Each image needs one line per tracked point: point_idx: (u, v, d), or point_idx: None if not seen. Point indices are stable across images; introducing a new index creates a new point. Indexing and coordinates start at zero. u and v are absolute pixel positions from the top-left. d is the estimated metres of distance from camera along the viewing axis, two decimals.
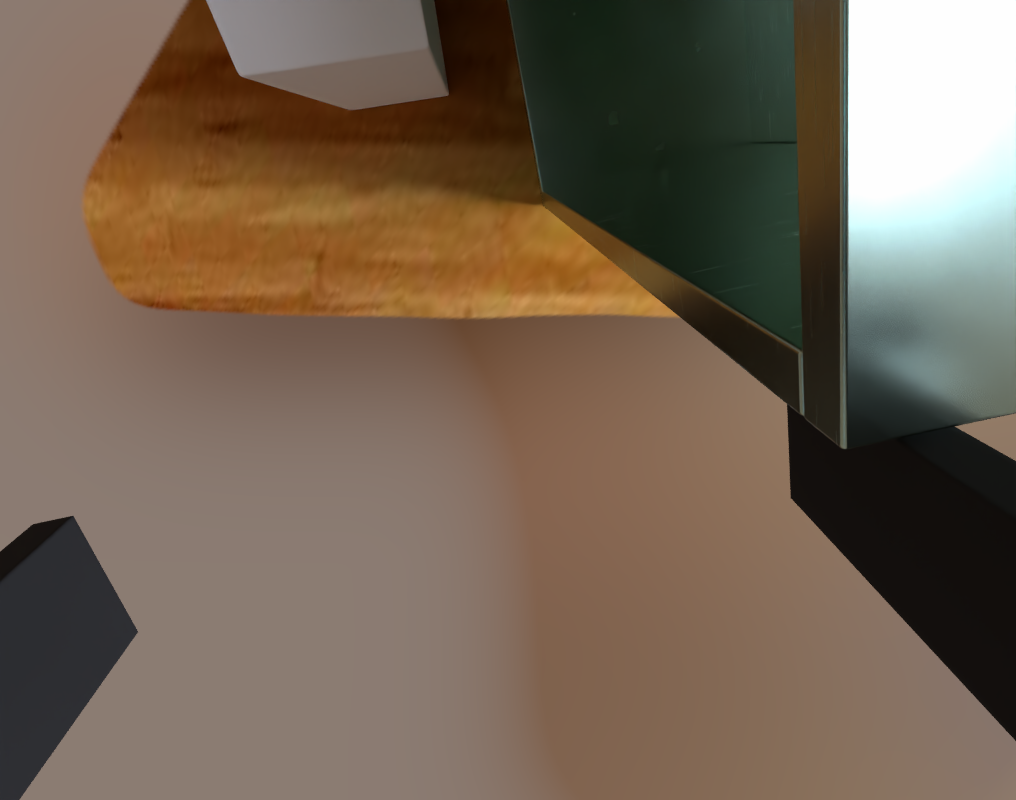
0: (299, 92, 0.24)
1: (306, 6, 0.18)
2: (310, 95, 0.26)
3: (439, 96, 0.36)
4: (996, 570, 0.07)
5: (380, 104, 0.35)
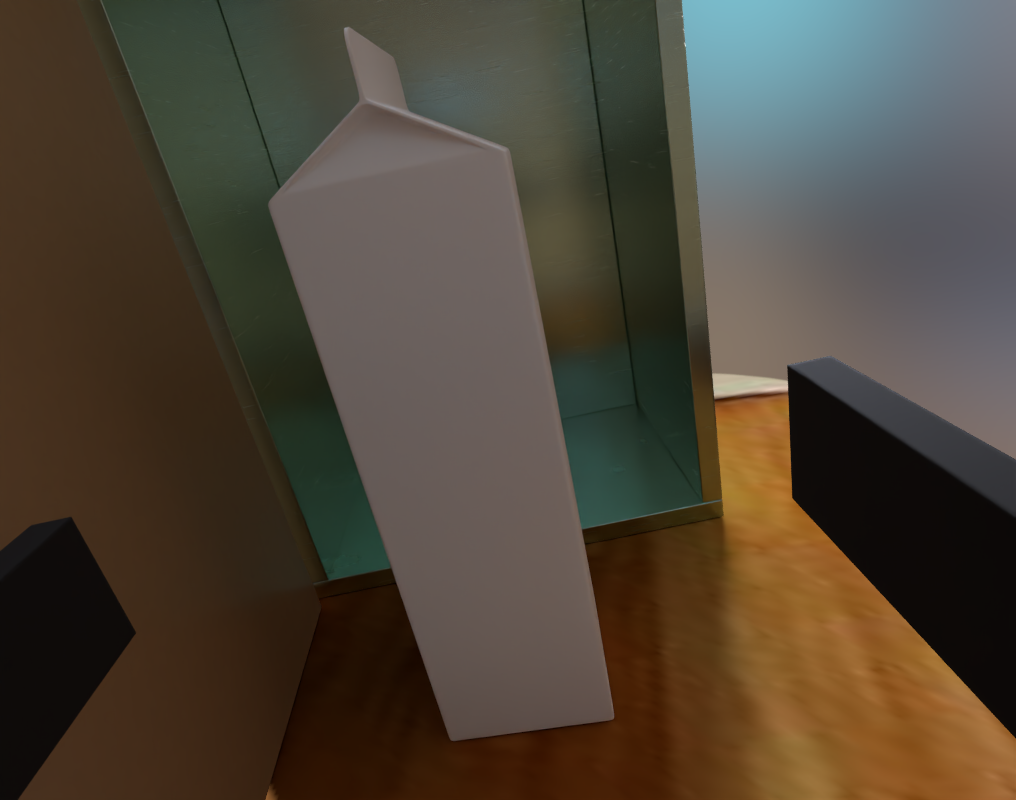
0: (551, 383, 0.17)
1: (451, 128, 0.17)
2: (561, 435, 0.17)
3: None
4: (999, 571, 0.06)
5: None
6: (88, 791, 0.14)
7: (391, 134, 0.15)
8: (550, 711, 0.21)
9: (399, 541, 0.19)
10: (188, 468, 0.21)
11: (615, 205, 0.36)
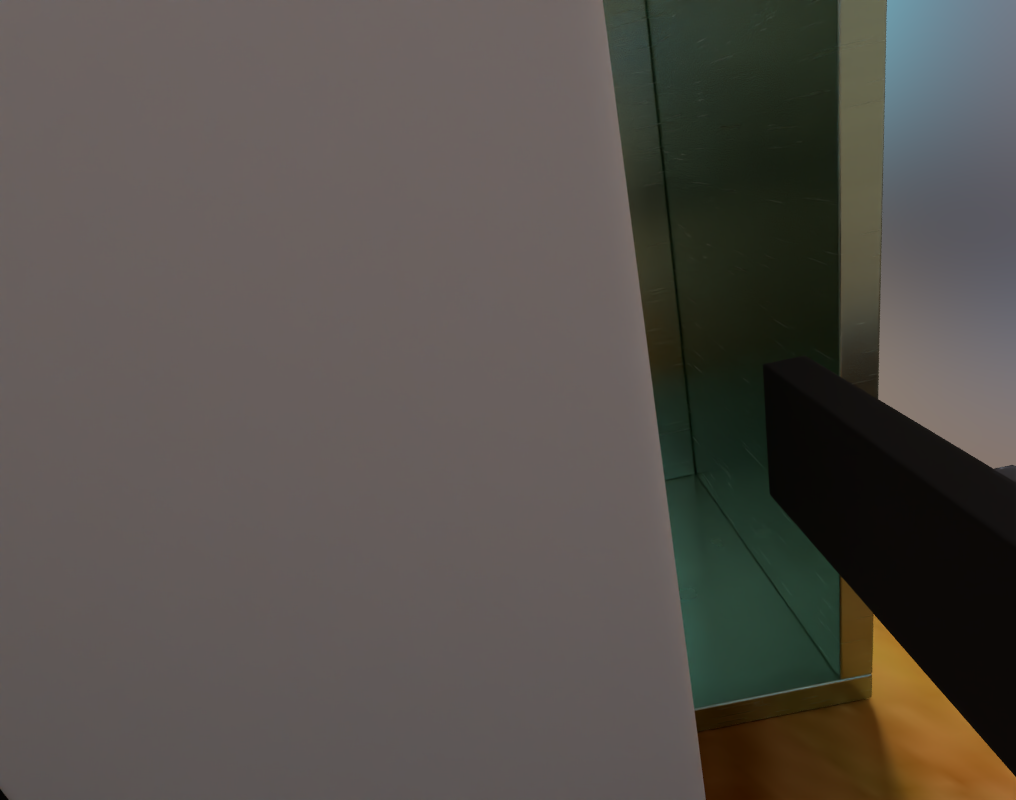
0: None
1: None
2: None
3: None
4: (952, 562, 0.07)
5: None
6: None
7: None
8: None
9: None
10: None
11: (678, 200, 0.24)
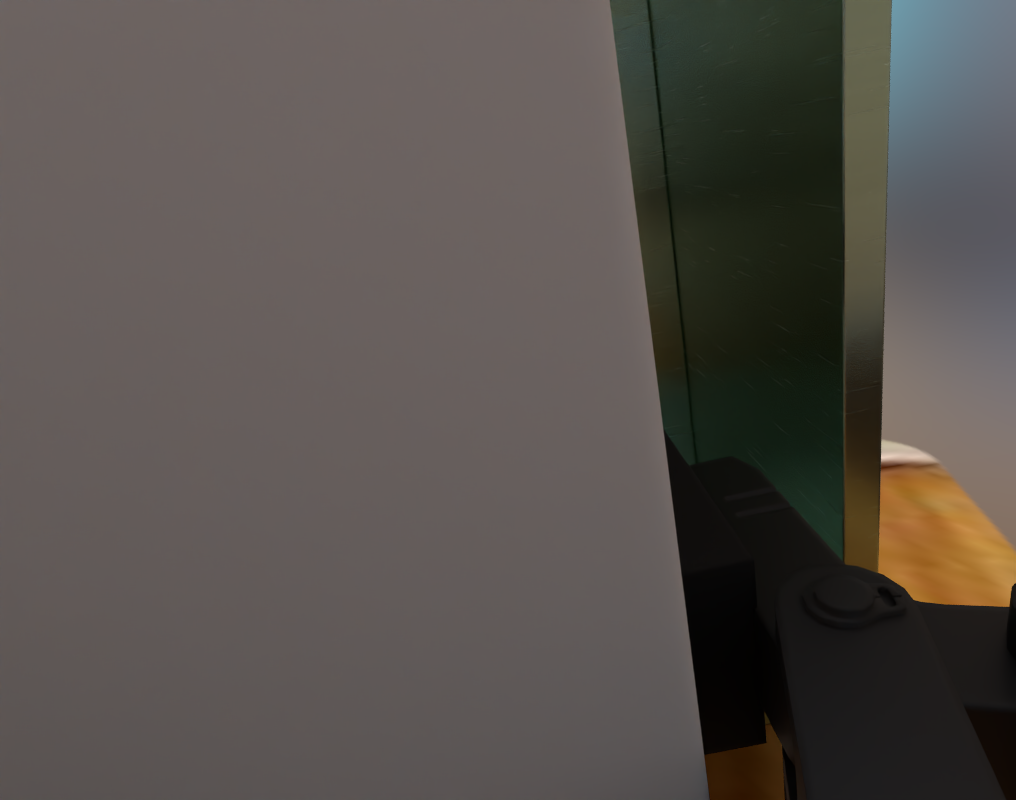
0: None
1: None
2: None
3: None
4: None
5: None
6: None
7: None
8: None
9: None
10: None
11: (680, 204, 0.24)
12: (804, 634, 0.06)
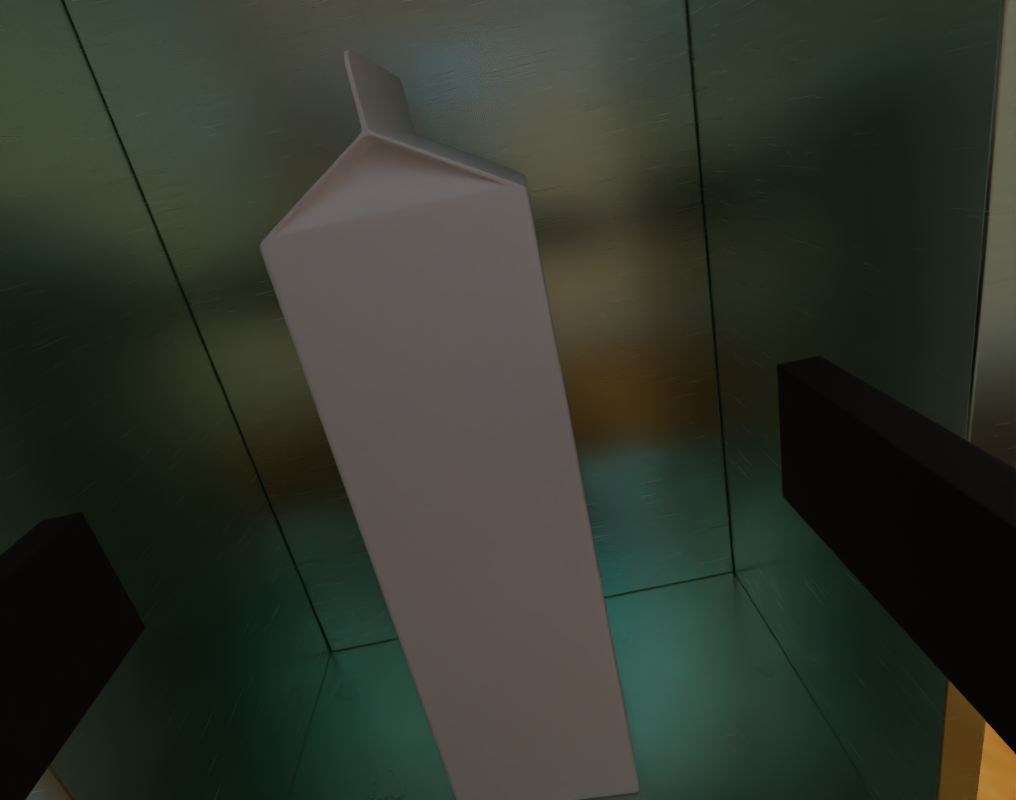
0: (574, 439, 0.15)
1: (463, 157, 0.15)
2: (584, 494, 0.16)
3: (614, 652, 0.24)
4: (979, 567, 0.07)
5: None
6: None
7: (397, 168, 0.13)
8: (569, 784, 0.20)
9: (405, 607, 0.17)
10: None
11: (725, 292, 0.22)
12: None
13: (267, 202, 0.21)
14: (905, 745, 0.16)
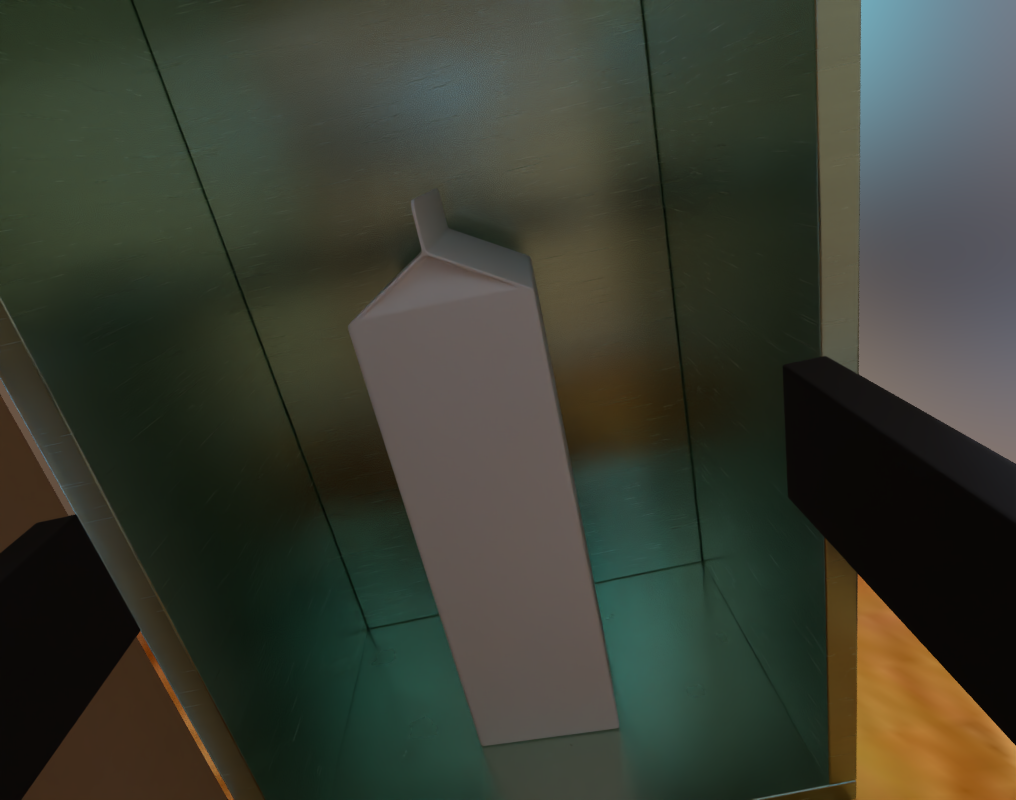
0: (567, 458, 0.21)
1: (487, 256, 0.21)
2: (575, 498, 0.22)
3: (602, 625, 0.30)
4: (990, 569, 0.07)
5: (609, 667, 0.27)
6: None
7: (444, 274, 0.19)
8: (565, 721, 0.25)
9: (443, 582, 0.23)
10: None
11: (687, 338, 0.27)
12: None
13: (328, 269, 0.27)
14: (809, 681, 0.21)
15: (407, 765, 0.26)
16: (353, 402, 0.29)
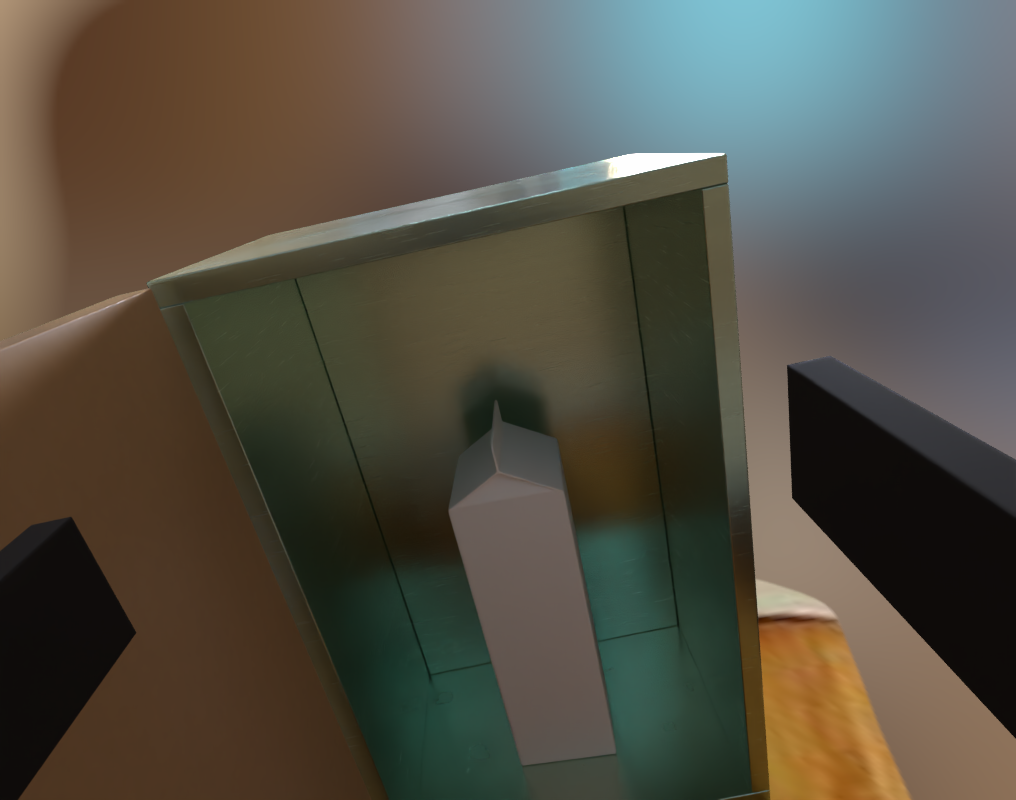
0: (583, 584, 0.33)
1: (532, 456, 0.33)
2: (587, 607, 0.33)
3: (604, 676, 0.42)
4: (999, 571, 0.06)
5: (609, 710, 0.39)
6: None
7: (508, 479, 0.31)
8: (580, 749, 0.37)
9: (500, 659, 0.35)
10: None
11: (664, 480, 0.39)
12: None
13: (414, 433, 0.39)
14: (739, 726, 0.33)
15: (470, 779, 0.38)
16: (426, 518, 0.41)
